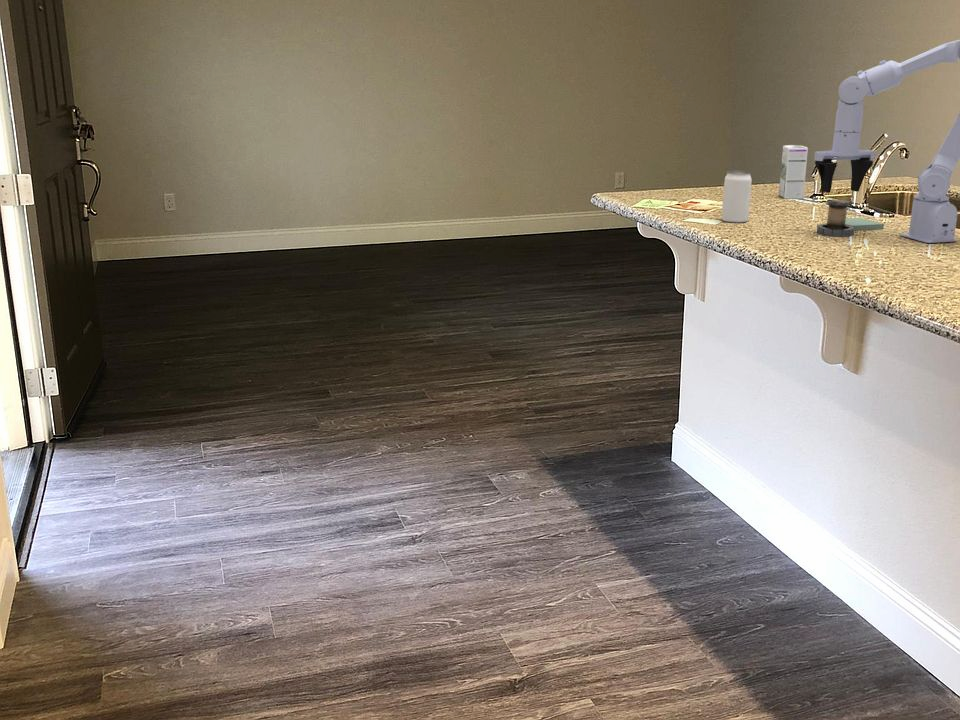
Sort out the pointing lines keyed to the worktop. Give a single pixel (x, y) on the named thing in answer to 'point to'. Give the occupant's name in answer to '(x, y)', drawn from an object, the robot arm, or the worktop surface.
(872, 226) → the pad
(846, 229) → the collar
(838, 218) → the hook peg
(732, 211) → the can
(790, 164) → the syrup box
